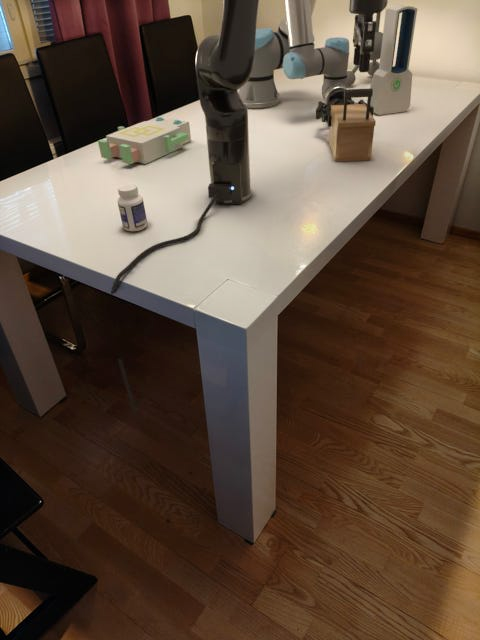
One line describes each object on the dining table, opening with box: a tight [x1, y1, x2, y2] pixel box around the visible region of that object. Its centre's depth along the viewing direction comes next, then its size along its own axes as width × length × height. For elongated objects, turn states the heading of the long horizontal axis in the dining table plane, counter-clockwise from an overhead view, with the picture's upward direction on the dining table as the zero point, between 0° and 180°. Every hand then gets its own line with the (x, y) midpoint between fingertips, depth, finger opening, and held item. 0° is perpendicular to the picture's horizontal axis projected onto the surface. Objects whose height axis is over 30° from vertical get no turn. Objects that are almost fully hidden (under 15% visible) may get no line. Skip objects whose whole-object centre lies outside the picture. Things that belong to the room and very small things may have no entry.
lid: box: [331, 88, 376, 127], centre depth 128 cm, size 16×9×8 cm, turn 178°
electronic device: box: [366, 4, 418, 116], centre depth 155 cm, size 12×8×30 cm, turn 105°
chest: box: [328, 111, 375, 162], centre depth 133 cm, size 16×9×9 cm, turn 178°
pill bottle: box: [117, 182, 148, 232], centre depth 102 cm, size 5×5×9 cm
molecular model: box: [346, 0, 388, 87], centre depth 186 cm, size 24×22×30 cm
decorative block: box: [97, 116, 192, 165], centre depth 142 cm, size 26×6×20 cm
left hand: (360, 68), depth 117 cm, fingers open, 8 cm apart
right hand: (348, 120), depth 136 cm, fingers closed on chest, 9 cm apart
